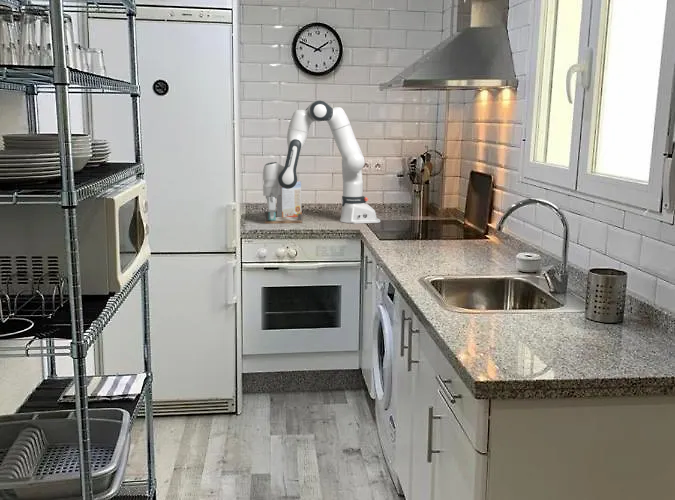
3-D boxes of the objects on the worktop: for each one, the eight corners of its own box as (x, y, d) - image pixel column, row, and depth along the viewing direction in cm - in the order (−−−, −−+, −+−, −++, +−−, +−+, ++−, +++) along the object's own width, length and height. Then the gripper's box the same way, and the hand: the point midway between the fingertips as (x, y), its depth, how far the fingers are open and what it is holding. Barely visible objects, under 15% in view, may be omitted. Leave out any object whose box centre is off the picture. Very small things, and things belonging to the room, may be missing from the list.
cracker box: (295, 215, 412) (295, 180, 408) (302, 216, 407) (301, 180, 403) (276, 217, 403) (275, 181, 399) (282, 218, 399) (281, 182, 395)
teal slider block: (275, 219, 388) (275, 211, 387) (275, 220, 383) (275, 212, 382) (268, 219, 387) (267, 211, 386) (268, 220, 383) (268, 212, 382)
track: (300, 220, 392) (300, 210, 391) (301, 223, 383) (301, 212, 382) (264, 221, 390) (264, 211, 389) (265, 223, 380) (265, 213, 379)
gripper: (278, 194, 373) (278, 219, 375) (276, 190, 392) (276, 214, 395) (266, 194, 372) (266, 220, 374) (265, 190, 392) (265, 214, 394)
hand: (271, 217), depth 385 cm, fingers open, 8 cm apart
